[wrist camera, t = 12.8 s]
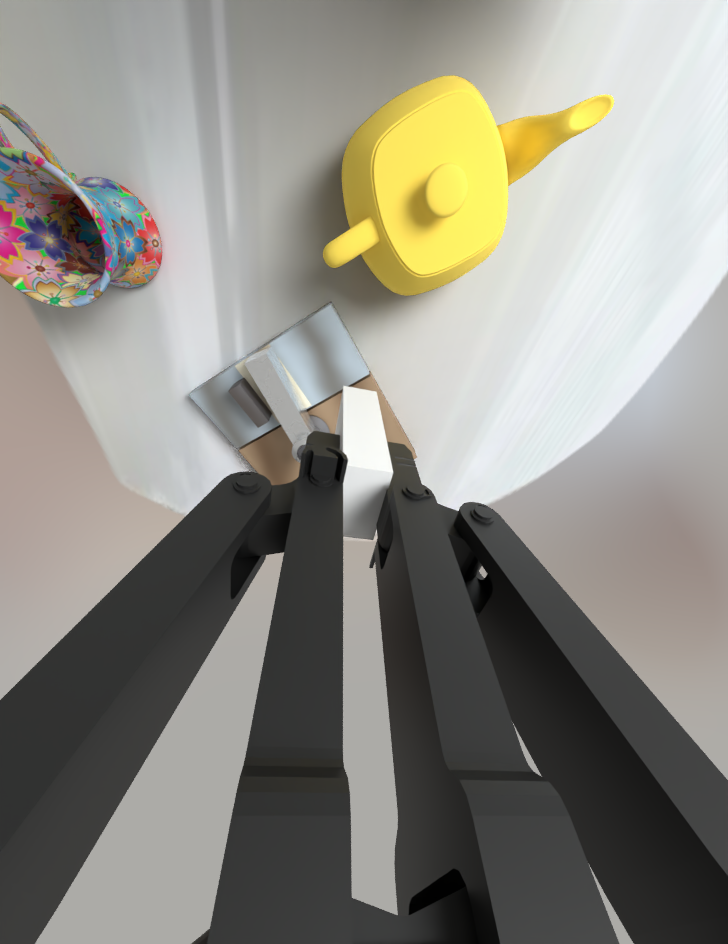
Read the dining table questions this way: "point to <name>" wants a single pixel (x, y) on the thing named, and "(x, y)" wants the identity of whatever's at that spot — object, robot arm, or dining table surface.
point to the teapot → (440, 181)
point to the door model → (316, 382)
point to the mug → (68, 228)
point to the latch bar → (281, 398)
